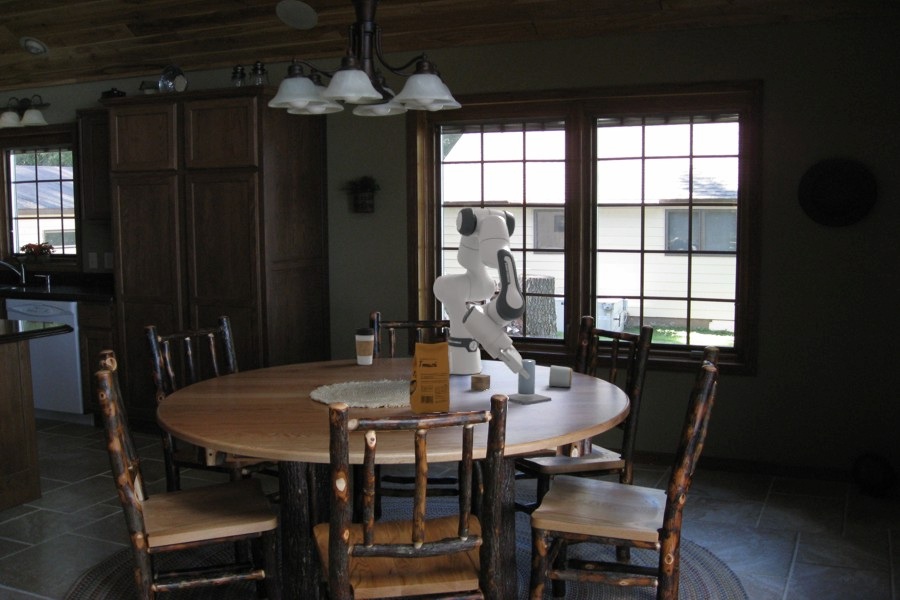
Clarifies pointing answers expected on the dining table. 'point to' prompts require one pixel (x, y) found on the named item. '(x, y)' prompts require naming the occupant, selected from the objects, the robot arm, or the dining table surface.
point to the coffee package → (430, 379)
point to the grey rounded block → (560, 376)
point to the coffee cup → (364, 345)
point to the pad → (527, 398)
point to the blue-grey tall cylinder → (527, 384)
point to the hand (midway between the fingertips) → (528, 375)
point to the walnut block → (480, 382)
